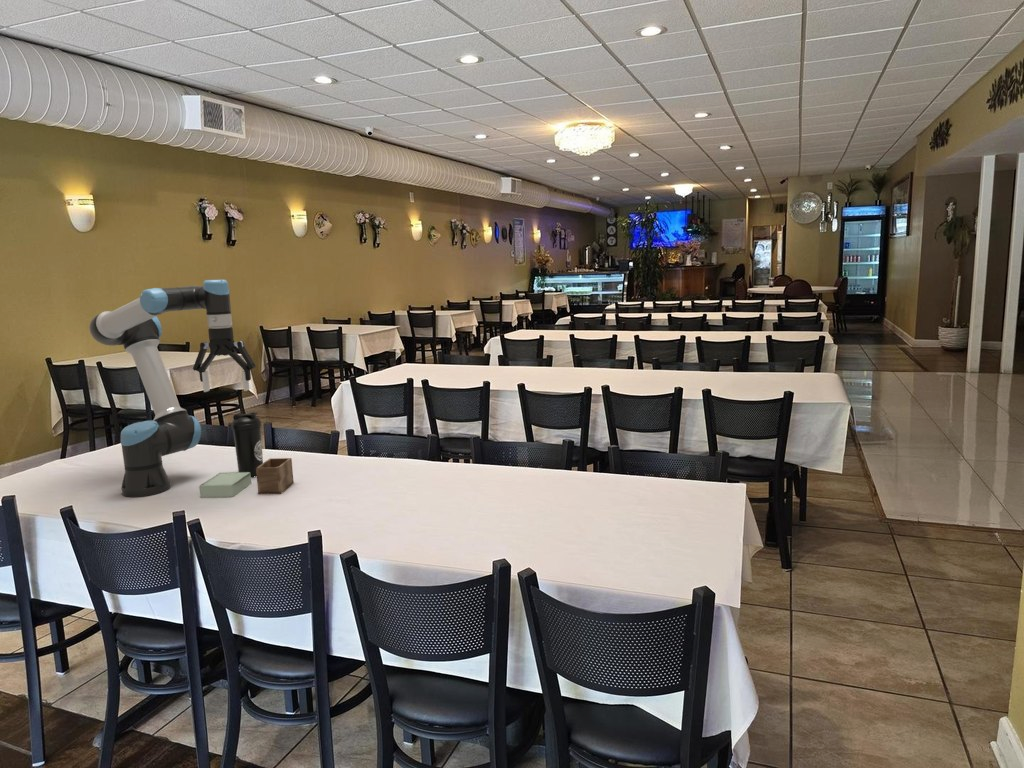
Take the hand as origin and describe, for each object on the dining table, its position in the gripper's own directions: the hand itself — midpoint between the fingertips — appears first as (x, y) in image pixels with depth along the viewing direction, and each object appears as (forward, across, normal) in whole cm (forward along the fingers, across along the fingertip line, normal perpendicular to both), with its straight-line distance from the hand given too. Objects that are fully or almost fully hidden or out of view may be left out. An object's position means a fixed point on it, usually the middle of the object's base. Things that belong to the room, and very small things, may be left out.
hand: (226, 390), depth 237 cm
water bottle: (+35, -3, +19) cm, 40 cm away
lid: (+35, -4, +1) cm, 35 cm away
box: (+35, +13, +2) cm, 37 cm away
